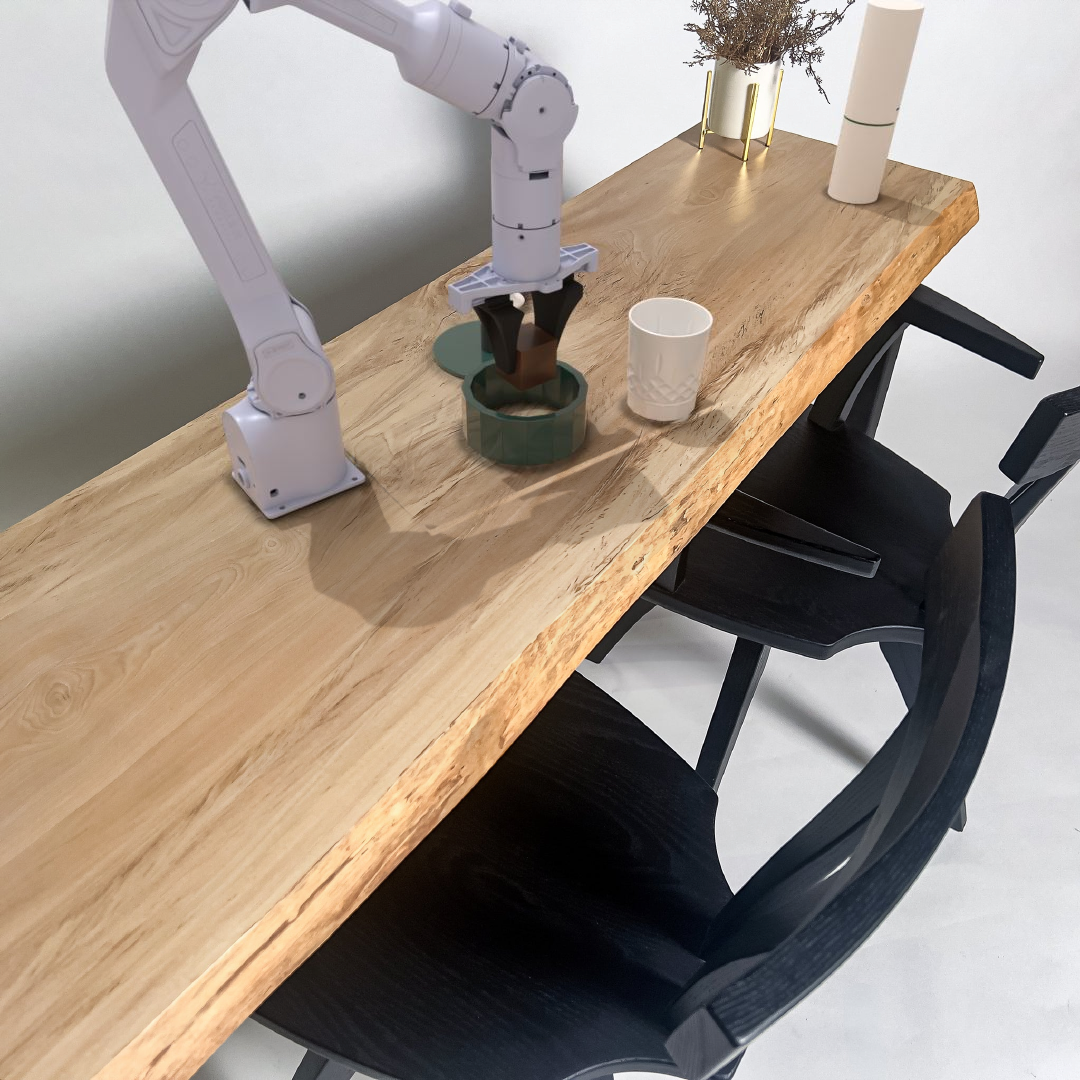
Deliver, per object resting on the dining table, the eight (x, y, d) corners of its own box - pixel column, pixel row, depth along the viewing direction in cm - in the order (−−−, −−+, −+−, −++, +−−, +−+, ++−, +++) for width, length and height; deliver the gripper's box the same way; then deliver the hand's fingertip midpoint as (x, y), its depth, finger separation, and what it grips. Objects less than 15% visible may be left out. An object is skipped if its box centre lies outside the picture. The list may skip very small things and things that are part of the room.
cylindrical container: (883, 192, 143) (931, 2, 127) (868, 207, 138) (916, 12, 122) (836, 182, 146) (877, -5, 129) (820, 196, 141) (860, 4, 125)
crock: (510, 485, 87) (510, 435, 83) (441, 426, 94) (438, 378, 90) (609, 442, 92) (613, 393, 89) (536, 389, 99) (537, 342, 96)
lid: (476, 400, 98) (475, 356, 94) (410, 349, 105) (407, 306, 102) (575, 363, 103) (577, 320, 100) (505, 317, 111) (505, 275, 108)
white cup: (642, 378, 101) (651, 290, 95) (712, 400, 98) (726, 310, 92) (607, 413, 96) (614, 322, 90) (679, 437, 93) (692, 344, 87)
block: (521, 391, 87) (521, 352, 84) (495, 373, 89) (494, 334, 87) (556, 378, 89) (557, 339, 86) (530, 360, 91) (530, 321, 88)
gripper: (481, 254, 73) (484, 406, 82) (625, 211, 80) (614, 356, 89) (431, 223, 78) (439, 371, 86) (572, 185, 84) (567, 326, 93)
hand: (525, 362), depth 88 cm, fingers closed on block, 4 cm apart
